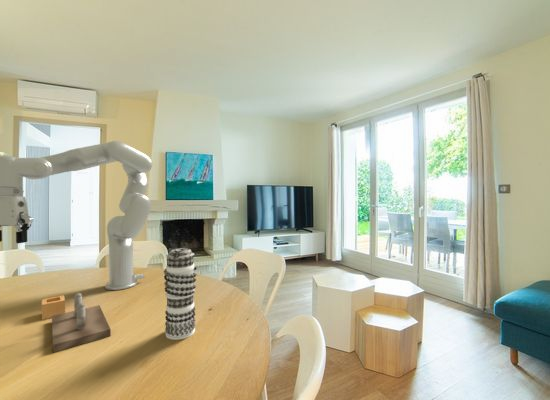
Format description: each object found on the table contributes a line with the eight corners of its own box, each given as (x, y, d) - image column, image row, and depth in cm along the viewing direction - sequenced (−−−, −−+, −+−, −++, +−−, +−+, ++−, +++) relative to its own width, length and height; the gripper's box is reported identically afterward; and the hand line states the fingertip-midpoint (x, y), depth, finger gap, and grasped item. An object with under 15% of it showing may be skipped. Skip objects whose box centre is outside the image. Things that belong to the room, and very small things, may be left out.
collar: (64, 308, 97) (64, 295, 97) (65, 314, 92) (64, 300, 92) (42, 313, 93) (42, 299, 93) (42, 319, 88) (41, 304, 88)
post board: (99, 310, 95) (99, 284, 95) (110, 335, 78) (110, 303, 78) (51, 321, 87) (51, 292, 87) (52, 352, 70) (52, 316, 70)
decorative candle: (171, 324, 85) (171, 246, 85) (200, 325, 85) (200, 246, 85) (158, 340, 76) (157, 252, 76) (190, 340, 76) (190, 253, 76)
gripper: (41, 192, 95) (42, 241, 95) (-3, 192, 96) (-2, 240, 96) (19, 192, 87) (20, 245, 87) (-28, 192, 89) (-27, 244, 89)
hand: (8, 242), depth 92 cm, fingers open, 9 cm apart
